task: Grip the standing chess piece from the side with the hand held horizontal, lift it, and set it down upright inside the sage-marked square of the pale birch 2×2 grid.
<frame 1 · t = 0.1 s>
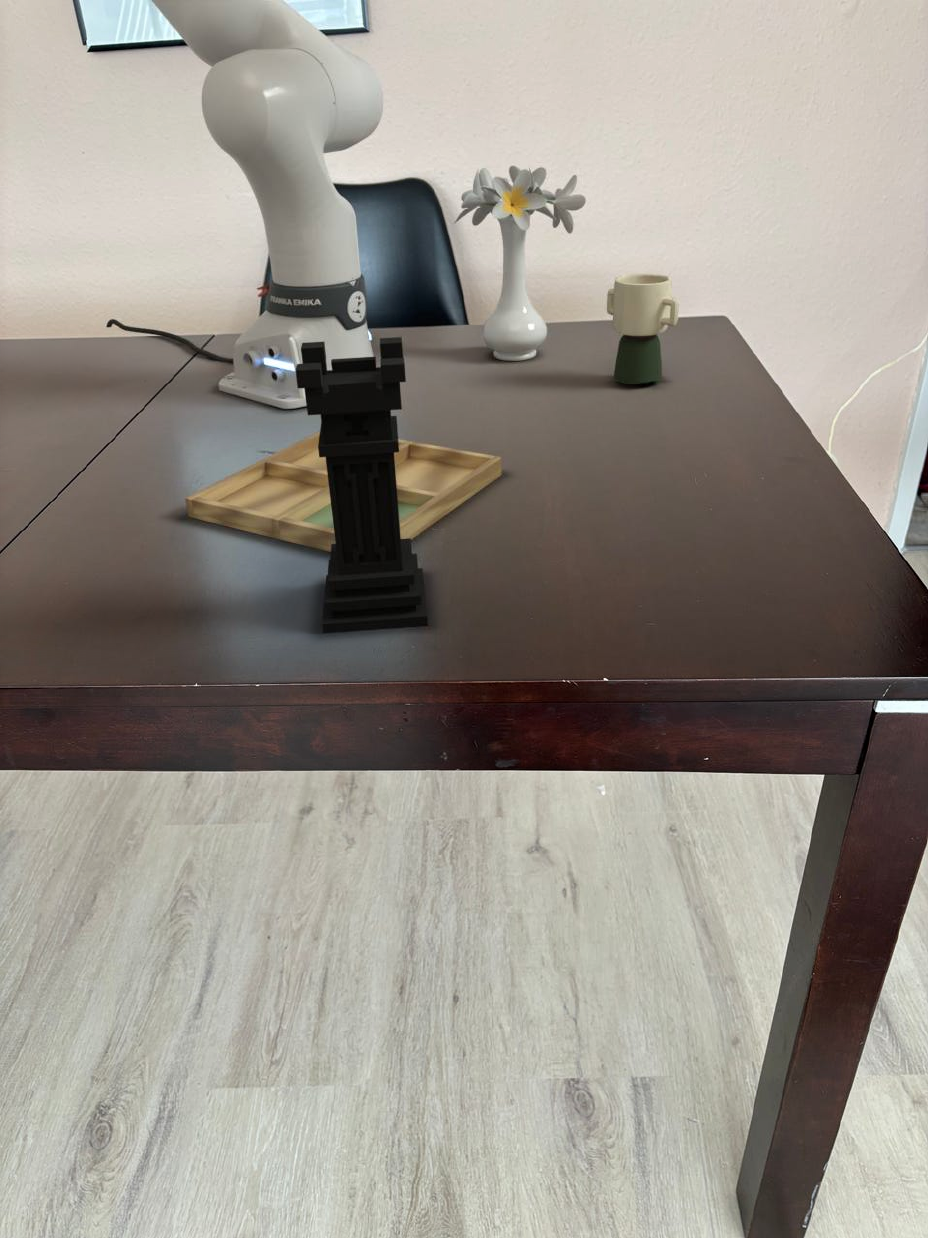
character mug: (637, 383, 124), on the table
grid: (350, 495, 95), on the table
chess piece: (375, 605, 76), on the table
flower vase: (516, 355, 138), on the table
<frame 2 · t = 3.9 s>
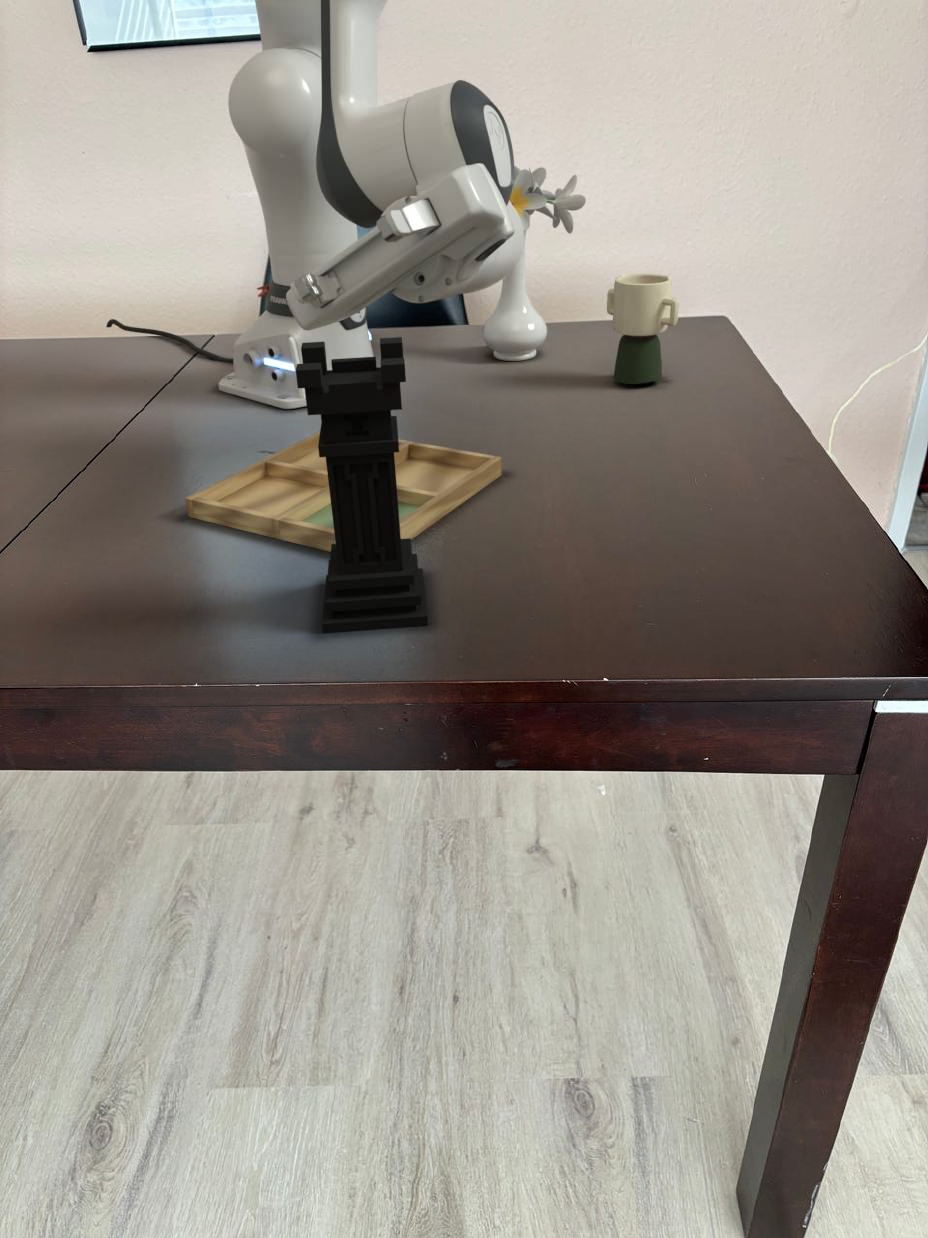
hand: (341, 259, 73), 24 cm above the table, tool horizontal, fingers open, 8 cm apart
nothing on the table moved.
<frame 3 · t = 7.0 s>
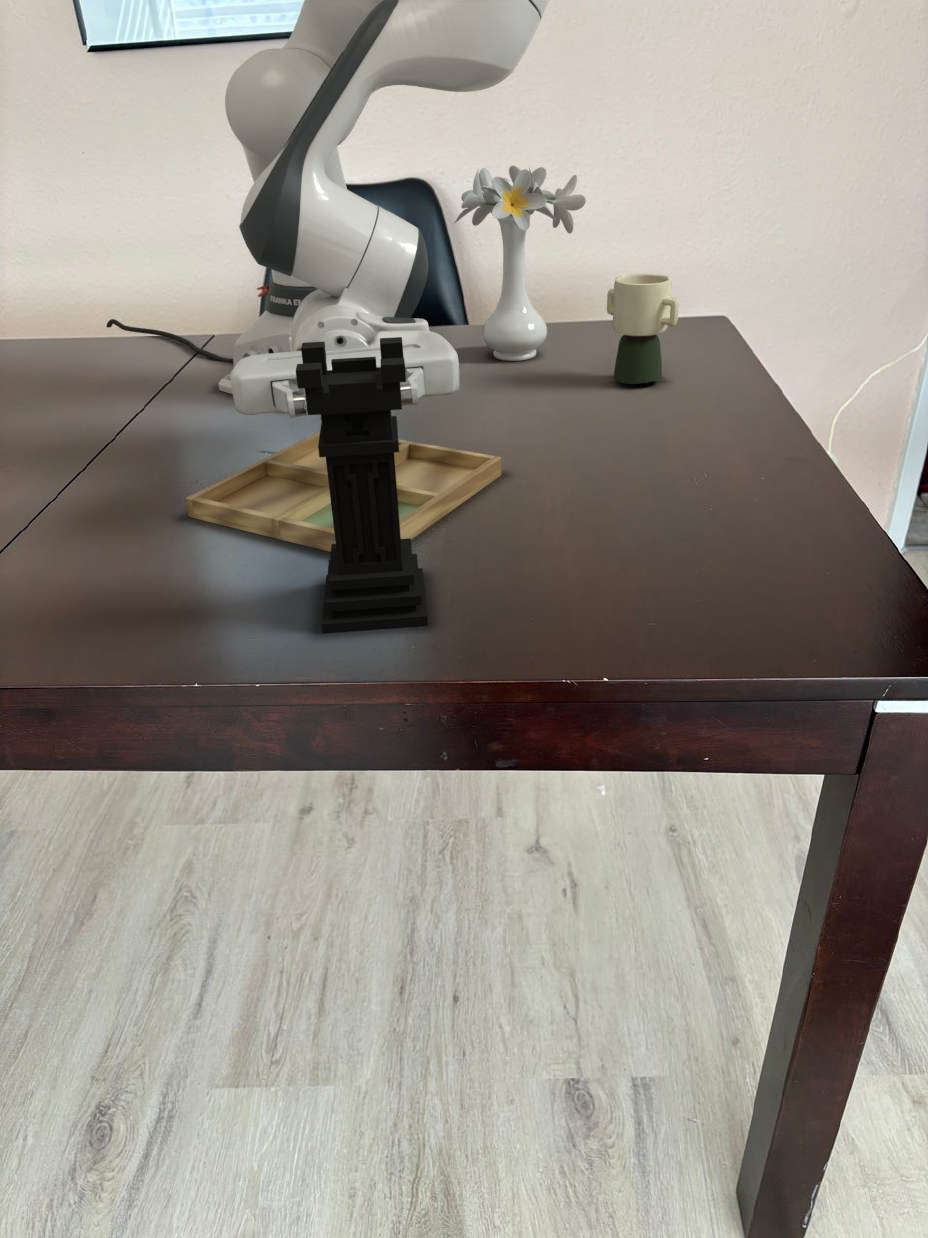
hand: (353, 401, 80), 13 cm above the table, tool horizontal, fingers open, 8 cm apart
nothing on the table moved.
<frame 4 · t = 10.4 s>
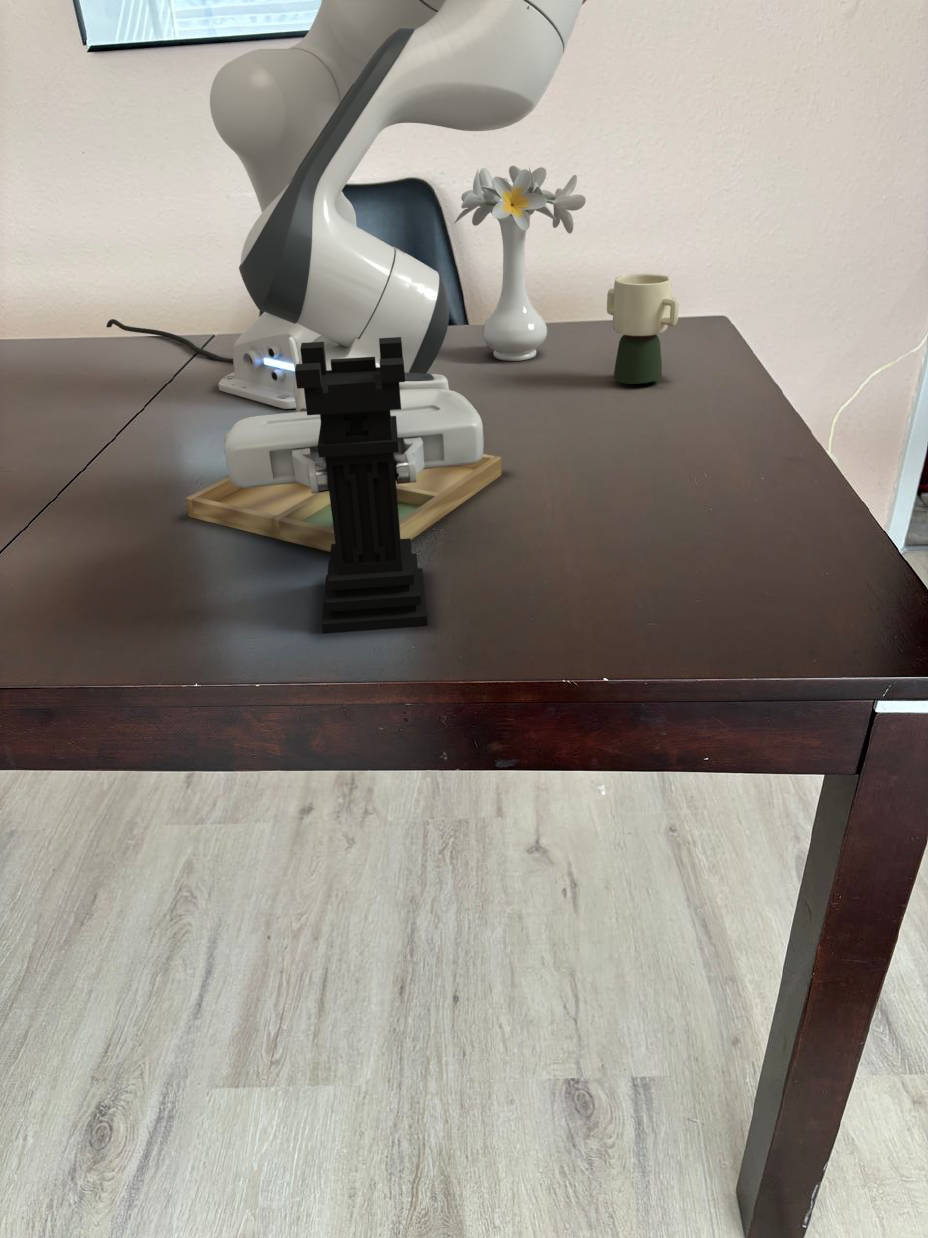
hand: (364, 478, 70), 11 cm above the table, tool horizontal, fingers closed on chess piece, 5 cm apart
chess piece: (375, 605, 76), on the table, touching gripper
everything else where it was.
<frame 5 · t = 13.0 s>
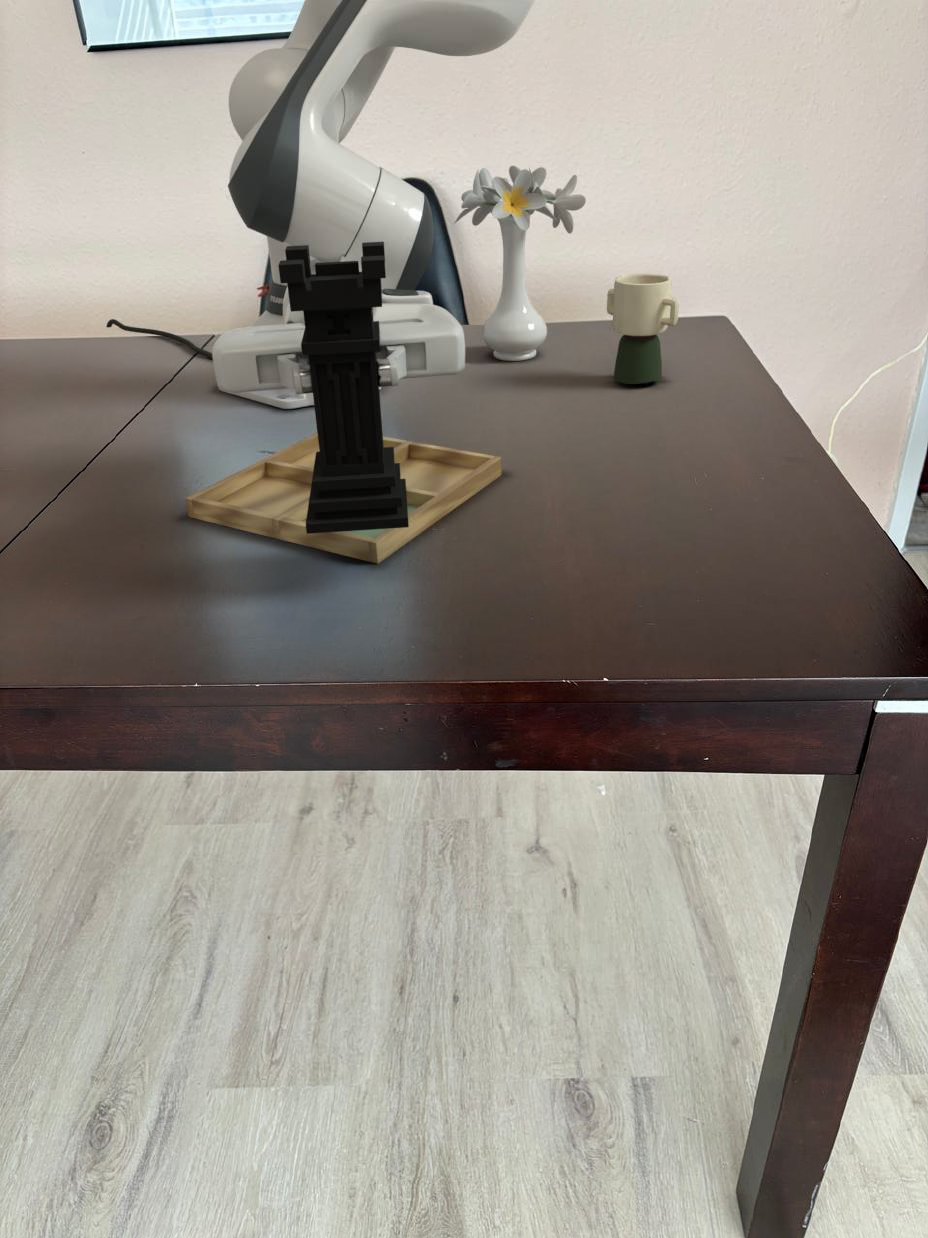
hand: (347, 380, 72), 17 cm above the table, tool horizontal, fingers closed on chess piece, 5 cm apart
chess piece: (358, 511, 78), point 6 cm above the table, touching gripper
everything else where it was.
when the fingers open (13 cm above the table, at t = 16.0 s): chess piece stays where it is, resting on grid.
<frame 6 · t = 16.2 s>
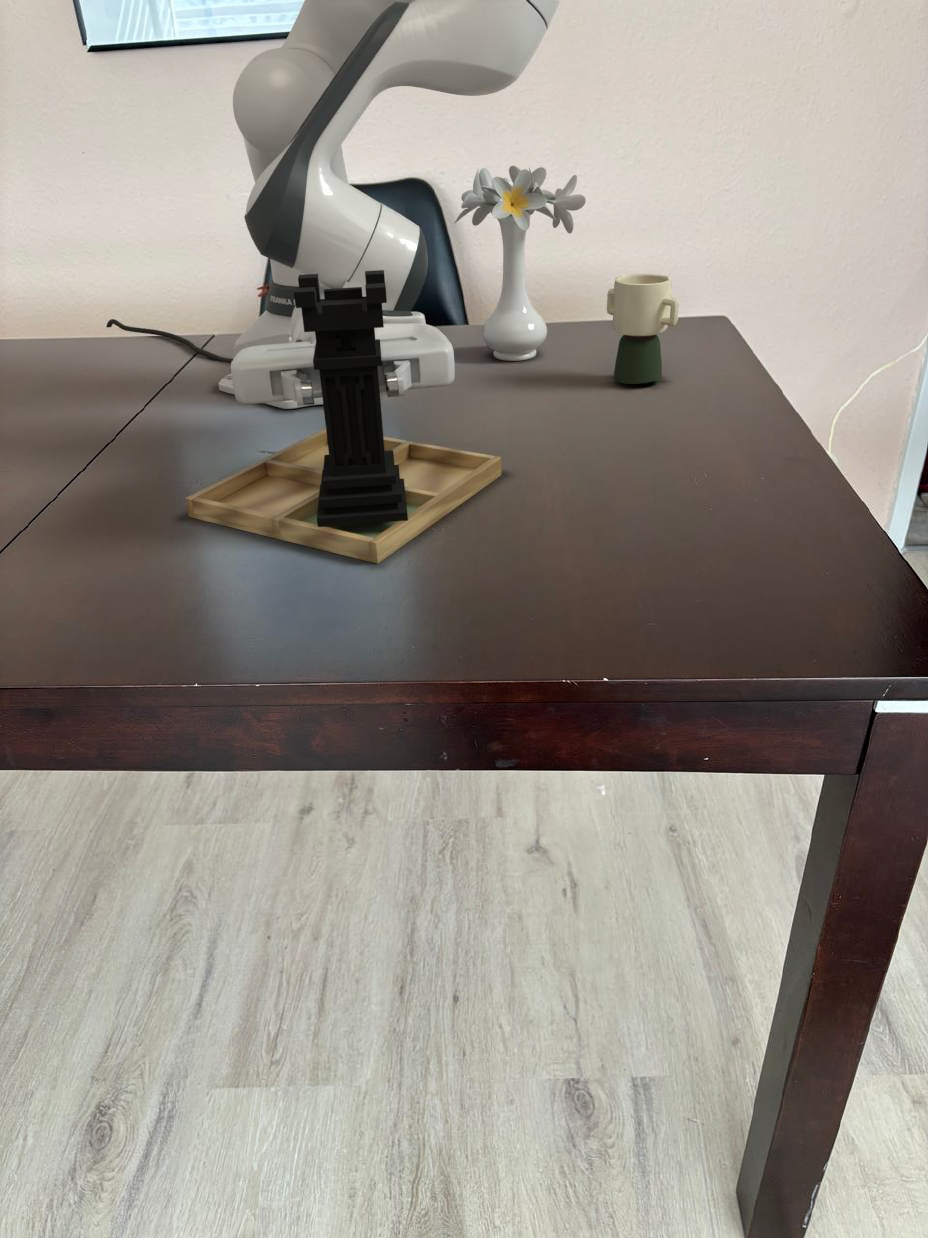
hand: (350, 392, 82), 13 cm above the table, tool horizontal, fingers open, 6 cm apart
chess piece: (363, 507, 88), point 2 cm above the table, touching grid
everything else where it was.
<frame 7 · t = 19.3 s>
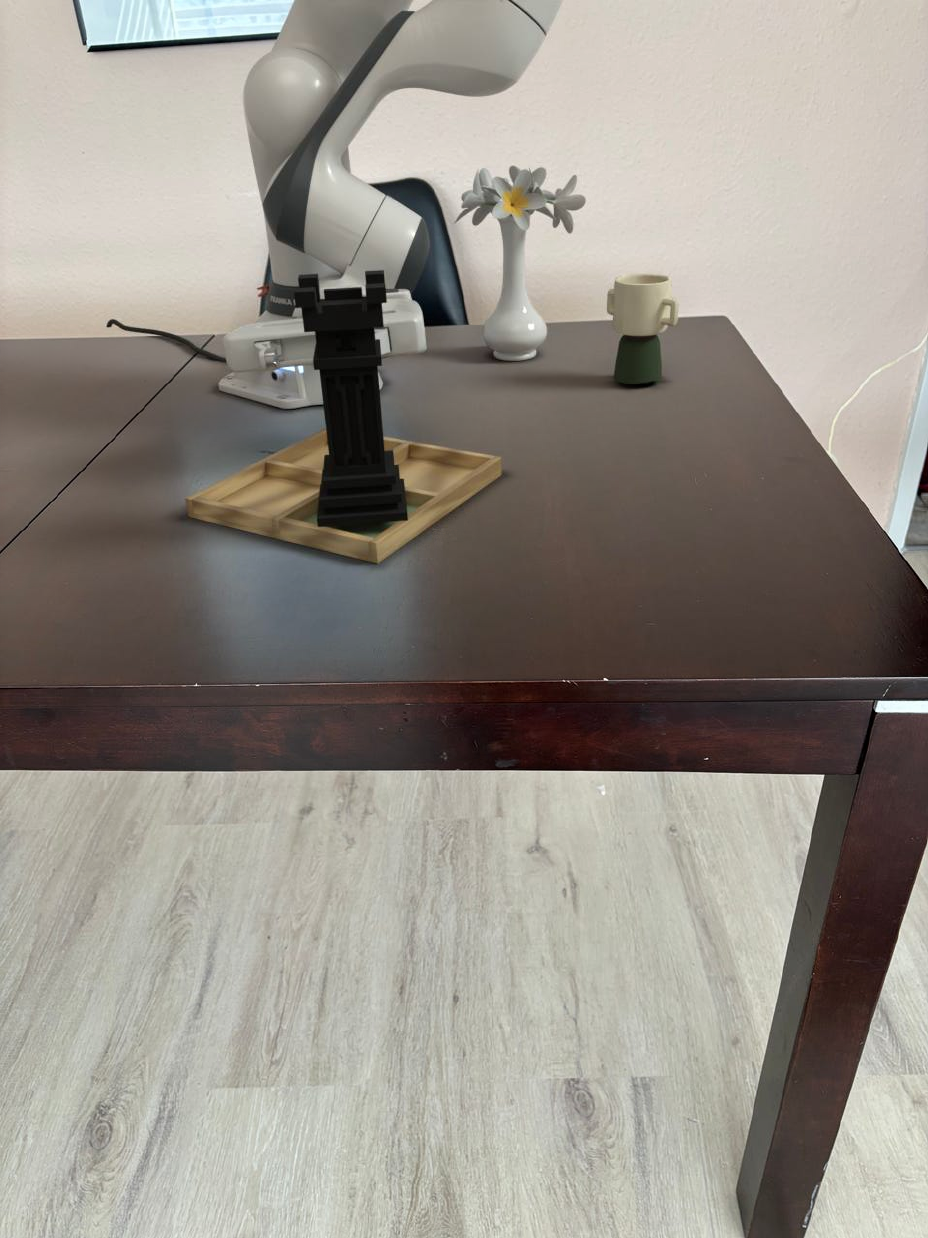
hand: (316, 356, 90), 14 cm above the table, tool horizontal, fingers open, 8 cm apart
nothing on the table moved.
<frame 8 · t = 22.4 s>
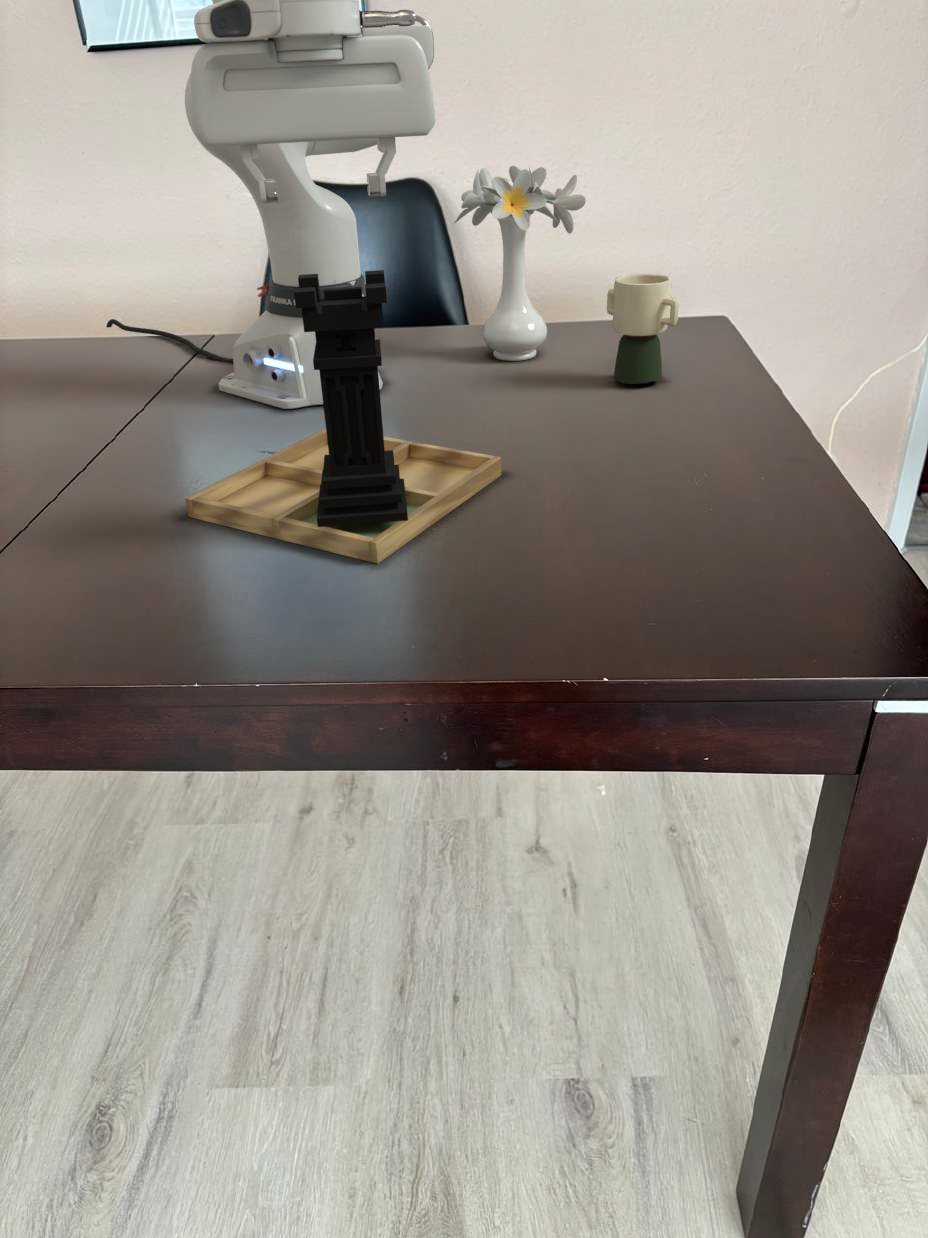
hand: (323, 198, 84), 27 cm above the table, tool pointing down, fingers open, 8 cm apart
nothing on the table moved.
at the end: chess piece 0.2 cm from the target spot in the grid, point 1.8 cm above the grid's base; chess piece tilted 0°; the gripper is holding nothing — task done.
